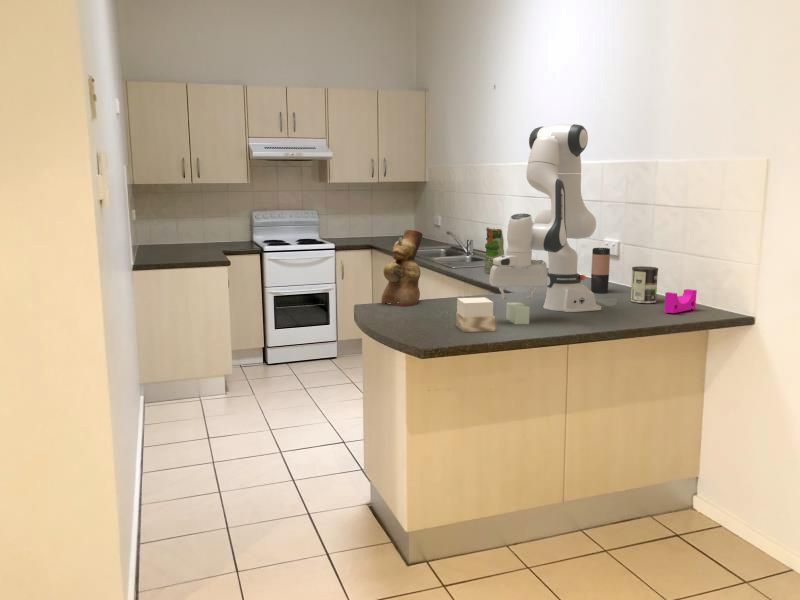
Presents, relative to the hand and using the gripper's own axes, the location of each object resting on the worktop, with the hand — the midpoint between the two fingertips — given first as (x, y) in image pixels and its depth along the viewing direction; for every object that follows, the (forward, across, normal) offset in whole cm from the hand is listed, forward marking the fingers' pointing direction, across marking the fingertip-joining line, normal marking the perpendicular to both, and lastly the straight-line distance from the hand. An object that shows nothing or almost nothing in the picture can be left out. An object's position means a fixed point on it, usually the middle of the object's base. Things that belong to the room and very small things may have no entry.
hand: (517, 298), depth 249 cm
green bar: (+8, -1, -1) cm, 9 cm away
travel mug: (+6, -57, -56) cm, 80 cm away
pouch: (+6, -29, -127) cm, 130 cm away
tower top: (+4, +18, +8) cm, 20 cm away
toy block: (+7, -70, -13) cm, 71 cm away
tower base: (+9, +17, +8) cm, 21 cm away
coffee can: (+6, -66, -33) cm, 74 cm away
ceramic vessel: (+9, +33, -45) cm, 56 cm away
